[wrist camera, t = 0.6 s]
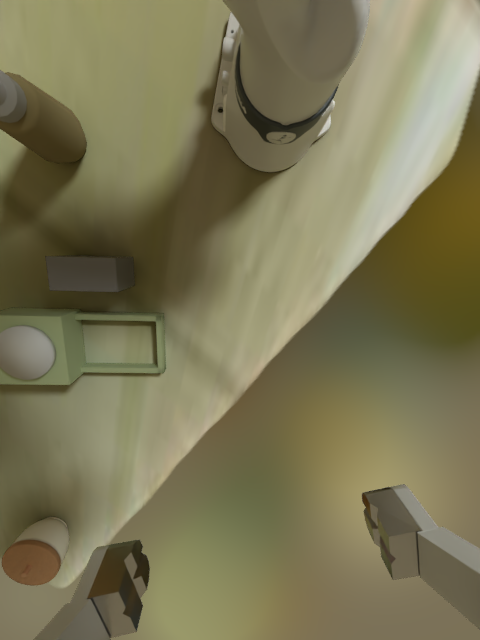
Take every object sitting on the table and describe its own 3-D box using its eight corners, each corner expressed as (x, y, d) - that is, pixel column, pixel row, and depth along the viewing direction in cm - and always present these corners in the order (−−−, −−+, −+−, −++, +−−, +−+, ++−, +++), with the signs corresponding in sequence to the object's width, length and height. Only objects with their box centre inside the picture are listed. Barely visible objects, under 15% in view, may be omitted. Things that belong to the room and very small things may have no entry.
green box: (11, 307, 50) (-24, 316, 43) (163, 310, 51) (153, 320, 44) (22, 369, 53) (-10, 387, 46) (165, 371, 54) (156, 389, 47)
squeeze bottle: (105, 143, 45) (25, 74, 27) (73, 181, 46) (-24, 138, 28) (63, 100, 43) (-51, -3, 25) (31, 141, 44) (-99, 69, 27)
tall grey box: (74, 255, 49) (45, 256, 41) (133, 257, 49) (115, 258, 41) (77, 284, 50) (49, 290, 42) (134, 285, 50) (117, 292, 42)
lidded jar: (87, 523, 62) (63, 569, 53) (63, 553, 64) (35, 603, 55) (43, 500, 60) (11, 544, 51) (19, 532, 62) (-16, 580, 53)
